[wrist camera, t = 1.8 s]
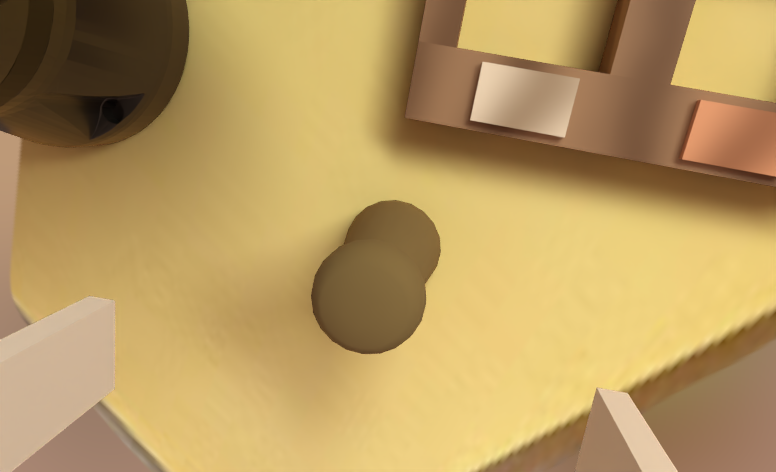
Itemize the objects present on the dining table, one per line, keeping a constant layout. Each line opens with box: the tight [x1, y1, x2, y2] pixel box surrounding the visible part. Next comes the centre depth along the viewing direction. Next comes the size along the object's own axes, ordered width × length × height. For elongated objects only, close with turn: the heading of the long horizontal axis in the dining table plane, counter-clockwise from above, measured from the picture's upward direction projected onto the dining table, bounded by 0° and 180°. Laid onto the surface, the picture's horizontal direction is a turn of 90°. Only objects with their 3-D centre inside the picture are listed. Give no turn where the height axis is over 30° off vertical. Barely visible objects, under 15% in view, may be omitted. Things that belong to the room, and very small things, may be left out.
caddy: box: [405, 0, 776, 187], centre depth 26 cm, size 23×14×3 cm, turn 80°
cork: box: [311, 200, 441, 354], centre depth 27 cm, size 6×6×11 cm
